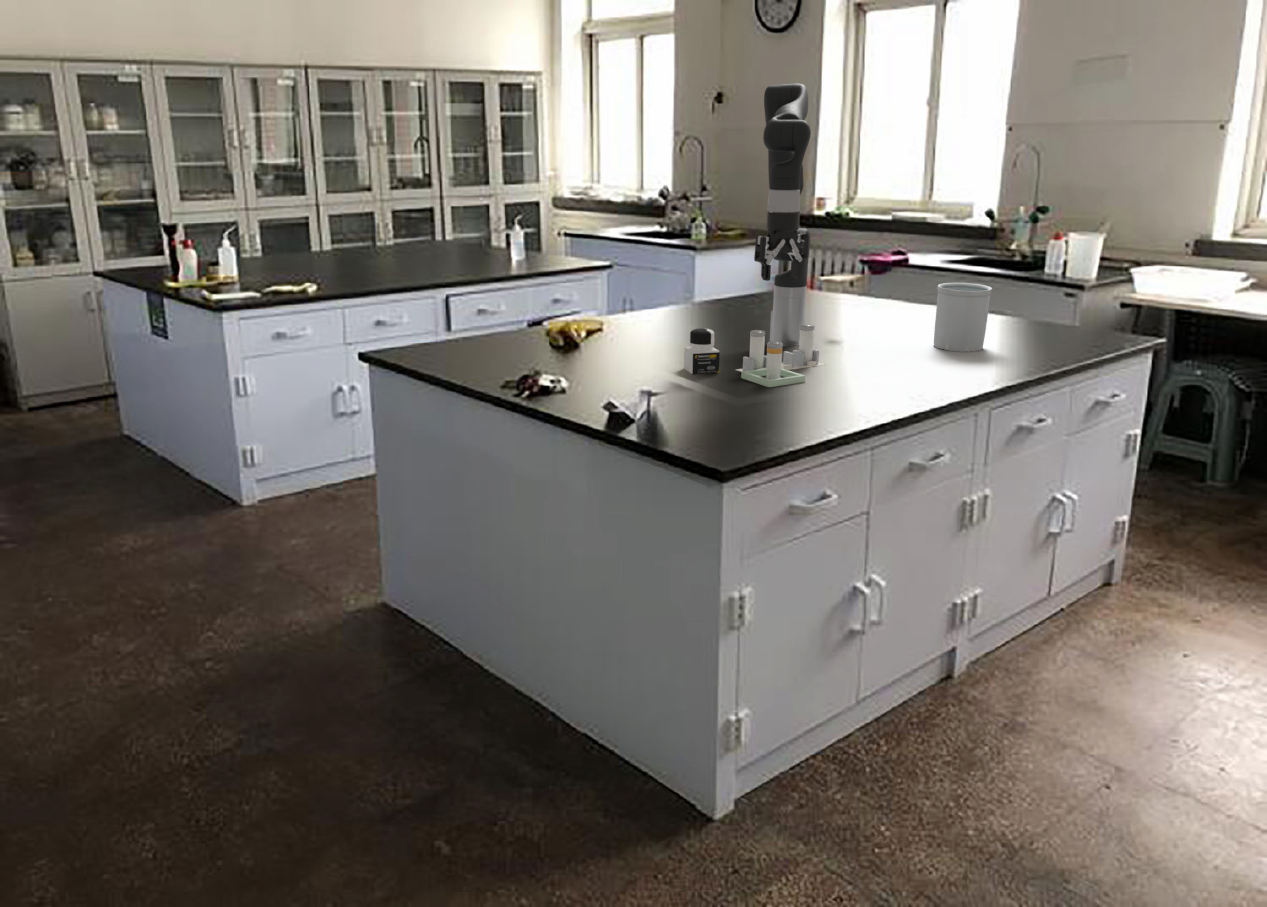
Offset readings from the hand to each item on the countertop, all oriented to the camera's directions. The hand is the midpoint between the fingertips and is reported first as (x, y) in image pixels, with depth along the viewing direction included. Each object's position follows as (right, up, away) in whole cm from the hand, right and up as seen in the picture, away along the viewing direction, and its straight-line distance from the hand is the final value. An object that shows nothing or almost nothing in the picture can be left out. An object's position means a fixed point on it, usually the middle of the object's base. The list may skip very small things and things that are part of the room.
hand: (780, 278), depth 248 cm
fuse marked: (-1, -24, +6) cm, 25 cm away
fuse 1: (-4, -21, +16) cm, 26 cm away
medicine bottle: (-18, -22, +16) cm, 33 cm away
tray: (-1, -25, +7) cm, 26 cm away
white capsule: (+10, -18, +23) cm, 31 cm away
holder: (+3, -21, +20) cm, 29 cm away
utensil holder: (+59, -11, +52) cm, 79 cm away
